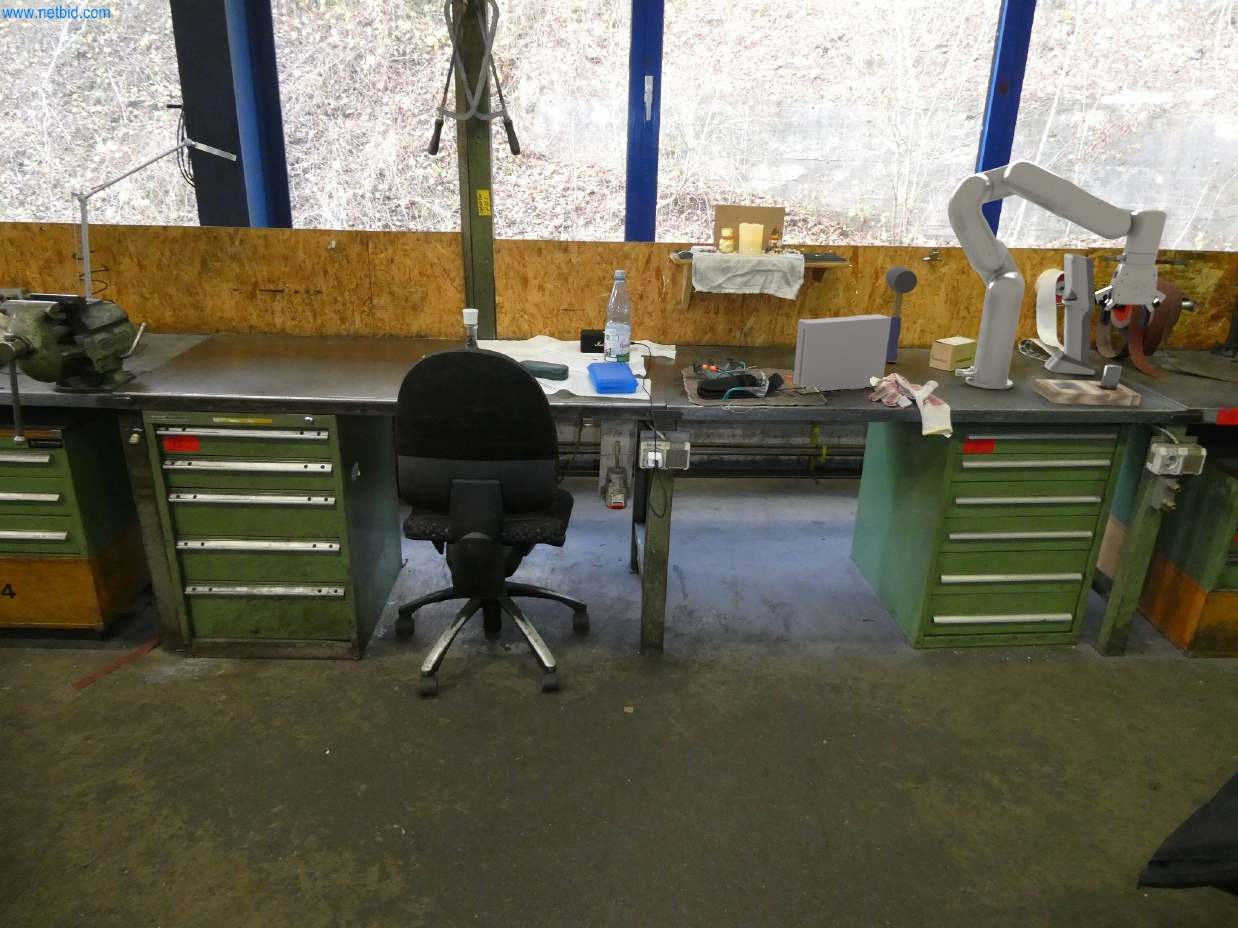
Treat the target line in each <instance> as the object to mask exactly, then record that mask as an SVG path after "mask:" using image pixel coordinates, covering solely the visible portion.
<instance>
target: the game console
mask: <svg viewBox="0 0 1238 928" xmlns="http://www.w3.org/2000/svg"><path fill="white" fill-rule="evenodd" d="M891 317H892V316H886V315H884V314H883V315H882V314H879V313H876V314H865V315H851V316H844V317H843V316H841V317H827V318H826V317H825V318H814V319H811V318H810V319H799V320H798V325H797V333H796V337H797V338H796V345H795V347H796V349H795V360H794V371H793V372H794V373H793V374H794V375H793V381H792V384H793V383H794V384H797V385H798V386H800V387H802V388H804V387H809V386H814V387H817V389H819V390H821V391H825V390H837V389H850V390H858V389H866V388H865V387H870V378H872V377H873V376H874V377H876V378H879V379H882V380H883V379H884V377H885V368H886V363H887V362H886V354H887V347H888V339H889V331H890V323H891ZM798 380H799V381H798ZM870 388H871V387H870Z"/></svg>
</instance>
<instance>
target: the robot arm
mask: <svg viewBox="0 0 1238 928" xmlns="http://www.w3.org/2000/svg"><path fill="white" fill-rule="evenodd" d="M1014 195H1015V196H1018V197H1020V198H1022V199H1024V200H1025V201H1028V202H1030V203H1032V204H1034V205H1036V206H1038V207H1039V208H1042V209H1044V210H1045V211H1048V212H1050V213H1051V214H1053V215H1055V216H1057V217H1059V218H1063V219H1064V220H1067V221H1069V222H1072V223H1073V224H1076V225H1077V226H1080V227H1081V228H1083V229H1085V230H1087V231H1089V232H1091V233H1093V234H1095V235H1097V236H1099V237H1101V238H1103V239H1105V240H1113V241H1114V240H1119V239H1120V238H1122V237H1126V240H1125V244H1124V249H1123V252H1122V253H1121V254H1117V256H1116V260H1117V261H1120V263H1118V264H1117V265H1116V268H1115V271H1114V273H1113V275H1112V277H1111V280H1110V284H1109V286H1108V287H1105V288H1103V289H1101V290H1098V291H1096V292H1094V295H1095V299H1096V304H1097V305H1098V306H1099V307H1100V309H1101V311H1100V317H1099V322H1100V323H1099V324H1100V325H1102V326H1106V327H1107V326H1108V325H1109V323H1110V319H1111V313H1112V311H1111V309H1112V308H1113V307H1114V306H1115V305H1123V306H1124V305H1125V306H1128V305H1130V306H1141V307H1142V308H1143V309H1141V310H1140V314H1139V318H1138V321H1137V322H1138V323H1137V325H1138V326H1140V327H1142V328H1146V327H1147V326H1148V324H1149V322H1150V317H1151V313H1152V312H1154V310H1155V309H1157V308H1158V307H1160V306H1161V304H1162V302H1163V301H1164V300H1165V299H1166V297H1167V295H1166V294H1165V293H1163V292H1161V291H1160V290H1158V289H1157V284H1158V274H1159V266H1157V265H1156V260H1157V257H1158V253H1159V249H1160V245H1161V240H1162V237H1163V233H1164V229H1165V225H1166V222H1167V221H1166V220H1167V214H1166V212H1165V211H1164V210H1159V209H1137V210H1136V209H1129V208H1122V207H1117V206H1115V205H1113V204H1111V203H1109V202H1107V201H1105V200H1103V199H1100V198H1099V197H1097V196H1095V195H1093V194H1091V193H1089V192H1088V191H1086V190H1085V189H1083V188H1082V187H1081V186H1080V185H1078V184H1076V183H1075V182H1073V181H1071V180H1068V179H1066V178H1065V177H1062V176H1061V175H1059V174H1056V173H1054V172H1052V171H1050V170H1048V169H1046V168H1044V167H1042V166H1040V165H1038V164H1036V163H1034V162H1033V161H1030V160H1026V159H1021V160H1017V161H1014V162H1013V163H1009V164H1007V165H1003V166H1000V167H997V168H993V169H990V170H986V171H982V172H977V173H973V174H969V175H968V176H966V177H965V178H963V179H962V180H961V181H960V182H959V183H958V185H956V187H955V189H954V190H953V192H952V194H951V196H950V199H949V201H948V206H947V207H948V208H947V214H948V215H947V216H948V217H947V218H948V221H949V224H950V226H951V228H952V231H953V232H954V235H955V236H956V238H957V240H958V243H959V245H960V247H961V248H962V251H963V253H964V254H965V257H966V258H967V260H968V263H969V265H970V268H971V269H972V270H974V271H975V272H976V273H978V274H979V277H980V278H981V280H982V282H983V284H984V285H985V287H986V289H985V294H984V299H983V308H982V313H981V319H980V320H981V321H980V326H979V333H978V338H977V339H978V340H977V345H976V352H975V355H974V357H975V358H974V363H973V365H970V366H969V368H967V369H963V368H962V369H961V368H956V369H955V371H954V372H955V373H954V375H955V376H957V377H958V376H959V377H960V376H961V377H962V378H965V383H966V384H968V385H970V386H973V387H976V388H980V387H981V388H980V389H986V390H987V389H988V390H1008V389H1010V388H1012V387H1013V385H1014V383H1013V382H1014V381H1012V380H1010V379H1009V373H1010V370H1011V369H1010V368H1011V363H1012V357H1013V351H1014V346H1015V341H1016V337H1017V331H1018V324H1019V319H1020V314H1021V308H1022V304H1023V299H1024V296H1025V295H1024V294H1025V290H1026V283H1025V282H1026V281H1025V278H1024V277H1023V275H1022V273H1021V270H1019V267H1018V266H1017V264H1016V261H1015V260H1014V258H1013V256H1012V254H1011V253H1010V251H1009V249H1008V247H1007V245H1006V244H1005V242H1003V241H1002V240H1001V239H1000V238H997V237H996V236H995V234H994V232H993V230H992V228H991V227H990V225H989V222H988V220H987V219H986V217H985V216H984V213H983V205H984V204H987V203H989V202H993V201H998V200H1001V199H1006V198H1008V197H1012V196H1014ZM1105 295H1106V300H1104V298H1103V297H1104V296H1105ZM1155 297H1156V298H1155Z"/></svg>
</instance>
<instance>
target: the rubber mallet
mask: <svg viewBox="0 0 1238 928" xmlns="http://www.w3.org/2000/svg"><path fill="white" fill-rule="evenodd" d="M885 282H886V284H887V285H888V286H889V287H890V288H891V289H892V290H894V291H895V292H894V296H893V297H894V299H893V305H892V312H891V316H890V317H891V323H890V331H889V339H888V347H887V354H886V361H895V362H896V361H897V359H898V357H899V356H898V347H899V339H900V336H901V330H902V316H901V313H902V307H903V306H902V305H903V300H904V299H903V298H904V294H907V293H910V292H912V291H913V290H914V289H915V288H916V287H917V284H918V276H917V275H916V274H915V272H913V271H912V270H911V269H909V268H907V267H904V266H901V265H897V266H893V267H890V268H889V269H888V271H887V272H886V275H885Z"/></svg>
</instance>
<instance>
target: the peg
mask: <svg viewBox="0 0 1238 928" xmlns="http://www.w3.org/2000/svg"><path fill="white" fill-rule="evenodd" d="M1122 368H1123V367H1122V366H1121V365H1118V364H1117V365H1116V364H1105V365H1104V368H1103V372H1102V377H1101V380H1100V381H1101V385H1100V388H1101V389H1102V390H1117V386H1118V383H1119V381H1120V377H1121V372H1122Z"/></svg>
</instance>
